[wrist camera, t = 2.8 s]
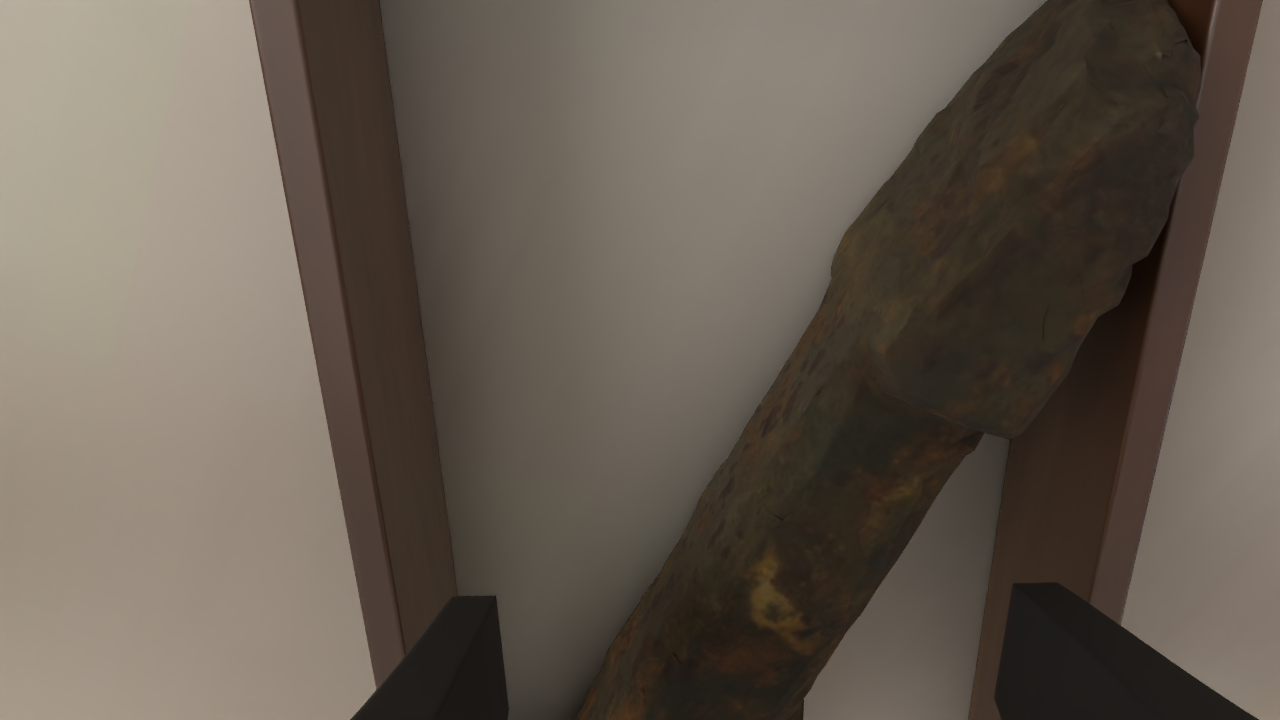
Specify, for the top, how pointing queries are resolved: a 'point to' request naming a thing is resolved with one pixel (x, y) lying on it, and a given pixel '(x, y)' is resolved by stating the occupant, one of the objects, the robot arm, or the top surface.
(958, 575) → the top surface
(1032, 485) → the storage box
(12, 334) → the top surface
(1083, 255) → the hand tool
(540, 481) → the top surface
